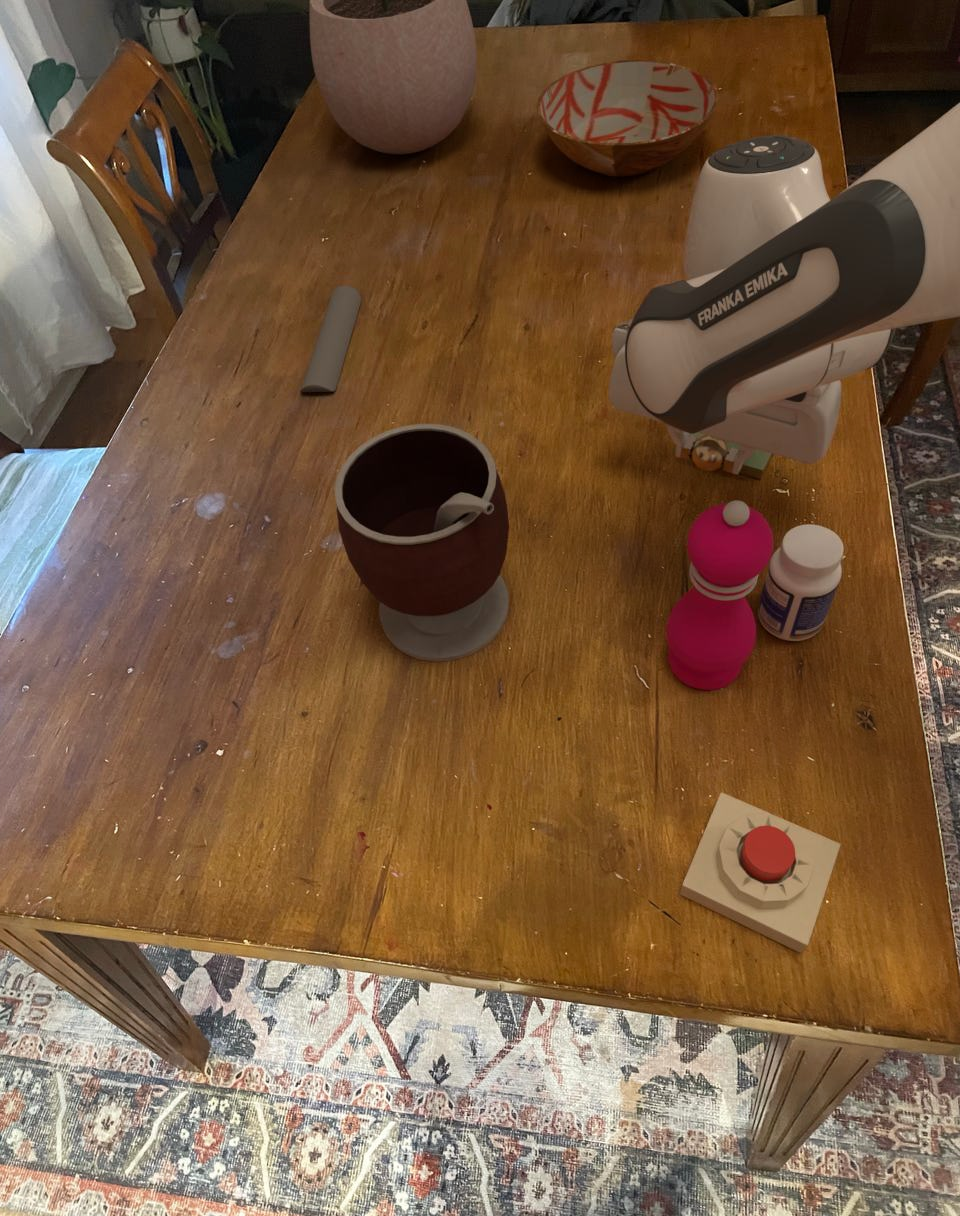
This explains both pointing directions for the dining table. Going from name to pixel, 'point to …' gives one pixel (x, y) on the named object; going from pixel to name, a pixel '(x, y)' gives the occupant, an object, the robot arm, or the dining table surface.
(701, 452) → the lever
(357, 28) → the plant pot
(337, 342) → the gray half cylinder
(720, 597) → the pepper mill
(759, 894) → the box
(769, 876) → the button
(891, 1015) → the dining table surface
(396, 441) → the mate gourd
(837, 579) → the pill bottle
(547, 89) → the bowl
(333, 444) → the dining table surface
